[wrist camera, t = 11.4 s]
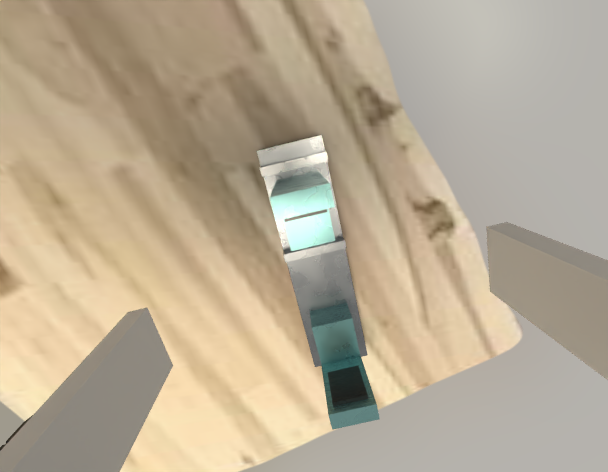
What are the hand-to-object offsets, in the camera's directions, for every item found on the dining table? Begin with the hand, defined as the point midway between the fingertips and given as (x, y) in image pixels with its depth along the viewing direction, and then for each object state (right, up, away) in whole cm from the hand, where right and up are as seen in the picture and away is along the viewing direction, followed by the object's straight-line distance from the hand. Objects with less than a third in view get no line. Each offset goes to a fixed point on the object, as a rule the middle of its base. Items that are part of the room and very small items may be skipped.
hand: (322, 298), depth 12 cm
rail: (+1, 0, +21) cm, 21 cm away
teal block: (-1, +5, +18) cm, 18 cm away
